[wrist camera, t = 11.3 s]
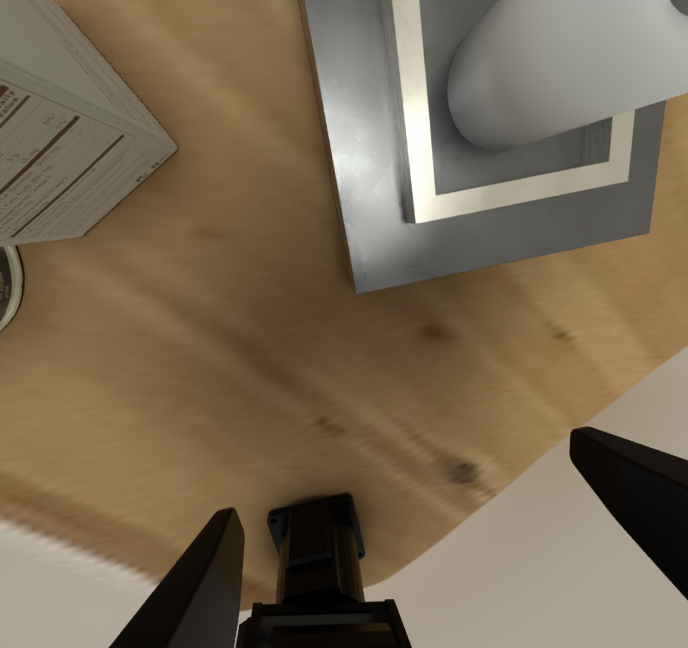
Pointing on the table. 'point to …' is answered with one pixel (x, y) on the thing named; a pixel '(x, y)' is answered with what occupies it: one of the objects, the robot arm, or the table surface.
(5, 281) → the coffee can
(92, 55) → the supplement box
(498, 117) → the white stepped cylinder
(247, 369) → the table surface
